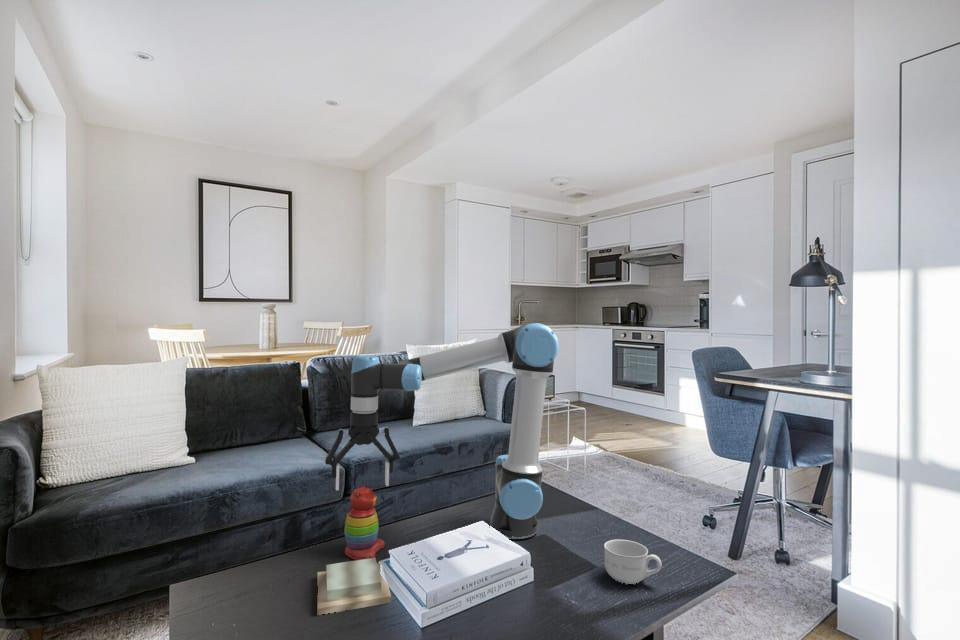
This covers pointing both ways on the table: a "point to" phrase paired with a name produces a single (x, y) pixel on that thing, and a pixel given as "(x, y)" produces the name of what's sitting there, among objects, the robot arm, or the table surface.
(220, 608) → the table surface
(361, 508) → the stacking bear
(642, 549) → the teacup
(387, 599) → the plinth
